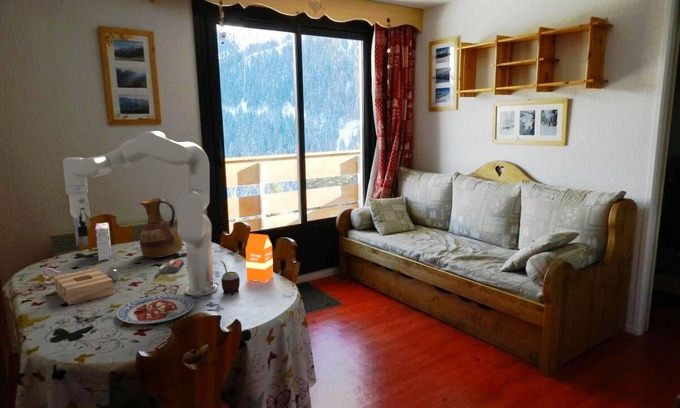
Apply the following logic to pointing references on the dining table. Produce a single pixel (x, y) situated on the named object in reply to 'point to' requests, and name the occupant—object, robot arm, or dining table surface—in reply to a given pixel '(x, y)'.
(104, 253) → the candy box
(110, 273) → the short pin
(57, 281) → the hole block
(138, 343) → the dining table surface
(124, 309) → the ceramic plate
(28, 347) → the dining table surface
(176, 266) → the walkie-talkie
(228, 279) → the mate gourd
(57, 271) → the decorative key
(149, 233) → the ceramic pitcher
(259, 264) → the orange juice
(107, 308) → the dining table surface
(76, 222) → the tall pin
